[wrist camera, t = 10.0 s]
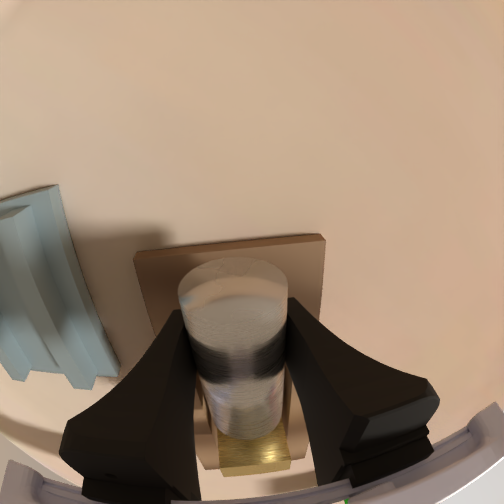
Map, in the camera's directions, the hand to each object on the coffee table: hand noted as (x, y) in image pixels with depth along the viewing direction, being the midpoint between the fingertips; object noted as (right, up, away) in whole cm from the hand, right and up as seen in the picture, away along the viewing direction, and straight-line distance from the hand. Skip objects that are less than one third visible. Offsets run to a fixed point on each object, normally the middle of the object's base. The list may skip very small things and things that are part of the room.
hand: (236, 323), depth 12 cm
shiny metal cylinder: (0, -1, +1) cm, 2 cm away
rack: (-13, 0, +2) cm, 13 cm away
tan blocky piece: (0, -5, +5) cm, 7 cm away
